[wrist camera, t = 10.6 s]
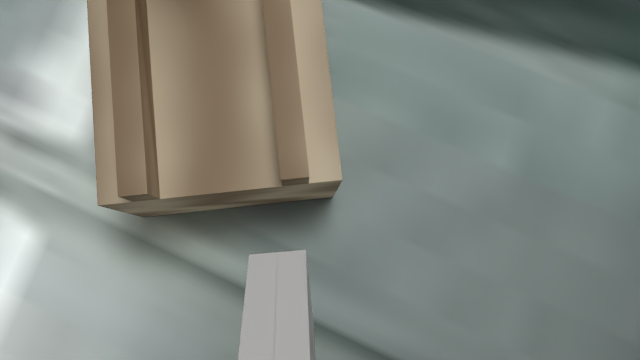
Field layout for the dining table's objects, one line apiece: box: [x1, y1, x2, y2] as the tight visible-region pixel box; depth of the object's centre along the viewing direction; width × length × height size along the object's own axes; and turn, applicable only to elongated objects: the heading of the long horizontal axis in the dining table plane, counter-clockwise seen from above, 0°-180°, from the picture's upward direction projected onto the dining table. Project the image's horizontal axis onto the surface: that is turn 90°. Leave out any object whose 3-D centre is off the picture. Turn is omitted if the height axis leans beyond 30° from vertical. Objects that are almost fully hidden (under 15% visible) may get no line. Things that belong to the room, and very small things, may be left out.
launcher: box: [87, 0, 342, 217], centre depth 27 cm, size 11×12×9 cm
